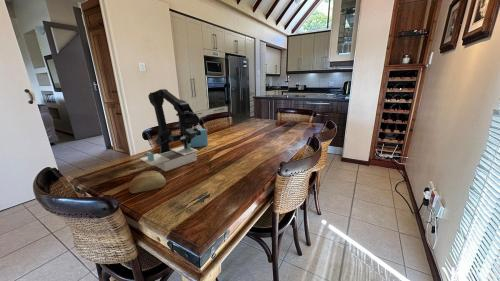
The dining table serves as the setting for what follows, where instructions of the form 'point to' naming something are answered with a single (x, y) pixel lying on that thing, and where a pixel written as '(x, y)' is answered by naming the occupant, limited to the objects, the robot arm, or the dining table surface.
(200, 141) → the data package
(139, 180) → the bread roll
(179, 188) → the dining table surface
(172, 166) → the carton
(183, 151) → the far flap
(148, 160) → the near flap
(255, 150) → the dining table surface
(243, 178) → the dining table surface
